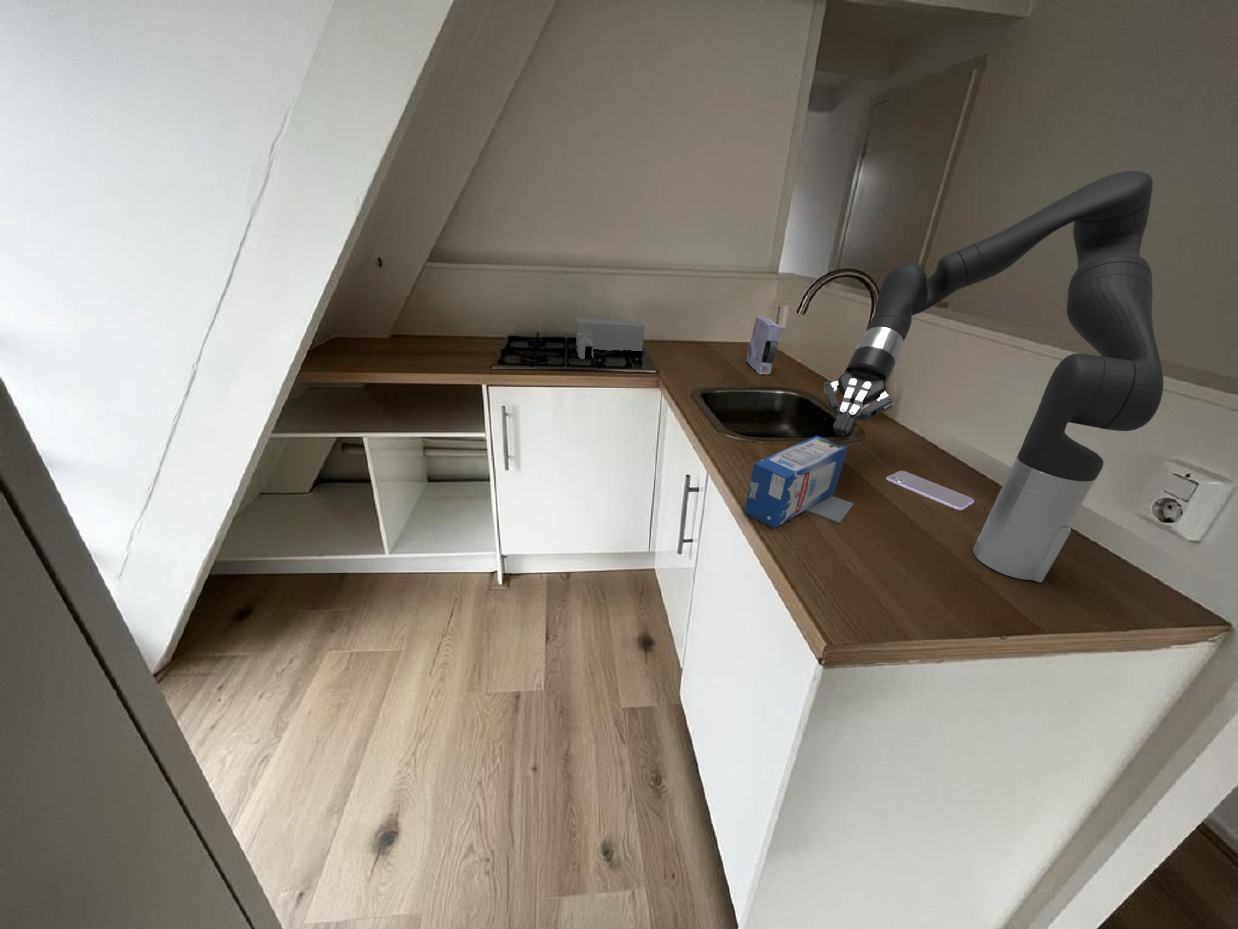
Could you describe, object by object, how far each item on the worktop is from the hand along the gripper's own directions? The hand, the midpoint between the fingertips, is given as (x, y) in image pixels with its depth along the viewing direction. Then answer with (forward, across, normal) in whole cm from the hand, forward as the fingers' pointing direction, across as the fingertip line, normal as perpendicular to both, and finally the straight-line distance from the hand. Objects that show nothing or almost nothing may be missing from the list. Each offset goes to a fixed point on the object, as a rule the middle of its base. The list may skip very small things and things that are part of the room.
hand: (838, 433), depth 90 cm
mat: (+12, 0, -6) cm, 14 cm away
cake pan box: (-49, +49, -67) cm, 97 cm away
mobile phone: (-4, -16, -23) cm, 28 cm away
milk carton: (+4, +1, -6) cm, 7 cm away
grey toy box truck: (-29, +98, -48) cm, 113 cm away
